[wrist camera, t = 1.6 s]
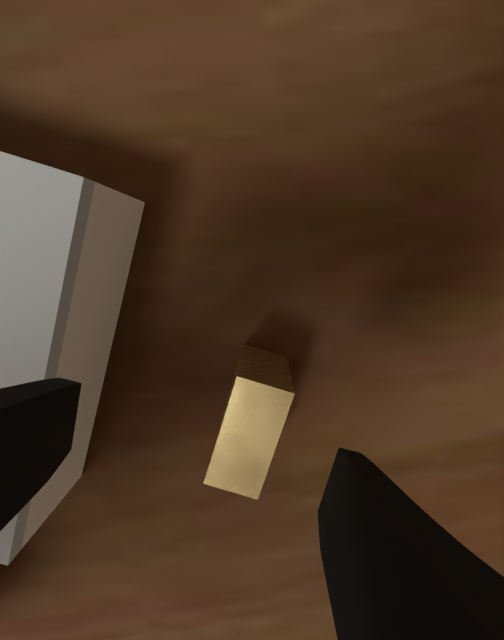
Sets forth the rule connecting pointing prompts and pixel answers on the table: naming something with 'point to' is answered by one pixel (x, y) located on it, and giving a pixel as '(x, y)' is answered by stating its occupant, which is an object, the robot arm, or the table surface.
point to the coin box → (59, 301)
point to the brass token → (251, 422)
